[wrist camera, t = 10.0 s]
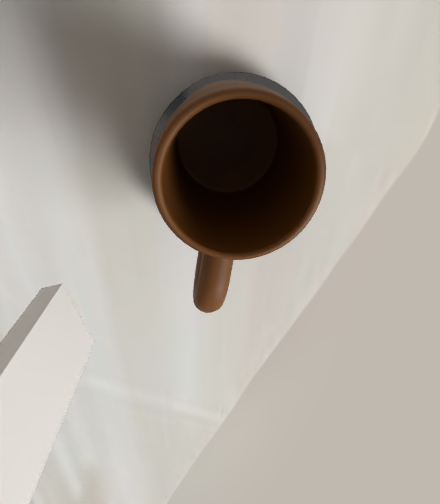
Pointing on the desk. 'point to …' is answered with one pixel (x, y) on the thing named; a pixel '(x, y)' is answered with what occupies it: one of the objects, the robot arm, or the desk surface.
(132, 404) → the desk surface
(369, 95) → the desk surface
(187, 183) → the mug
